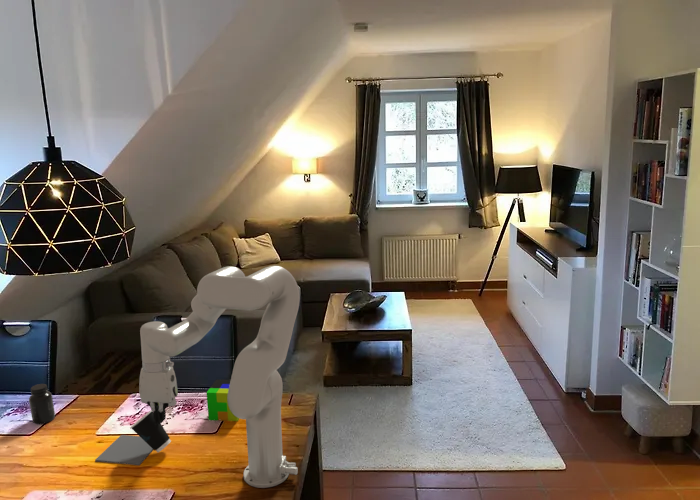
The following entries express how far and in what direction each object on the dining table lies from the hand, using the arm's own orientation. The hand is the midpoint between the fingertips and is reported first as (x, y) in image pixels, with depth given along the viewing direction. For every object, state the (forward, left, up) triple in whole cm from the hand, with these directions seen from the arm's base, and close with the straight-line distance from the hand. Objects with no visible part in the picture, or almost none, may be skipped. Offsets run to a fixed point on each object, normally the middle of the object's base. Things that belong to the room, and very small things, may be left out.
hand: (160, 421), depth 172 cm
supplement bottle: (+50, -13, -11) cm, 52 cm away
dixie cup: (-1, 0, -8) cm, 8 cm away
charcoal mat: (+11, 0, -10) cm, 15 cm away
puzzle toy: (-10, -26, -11) cm, 30 cm away
